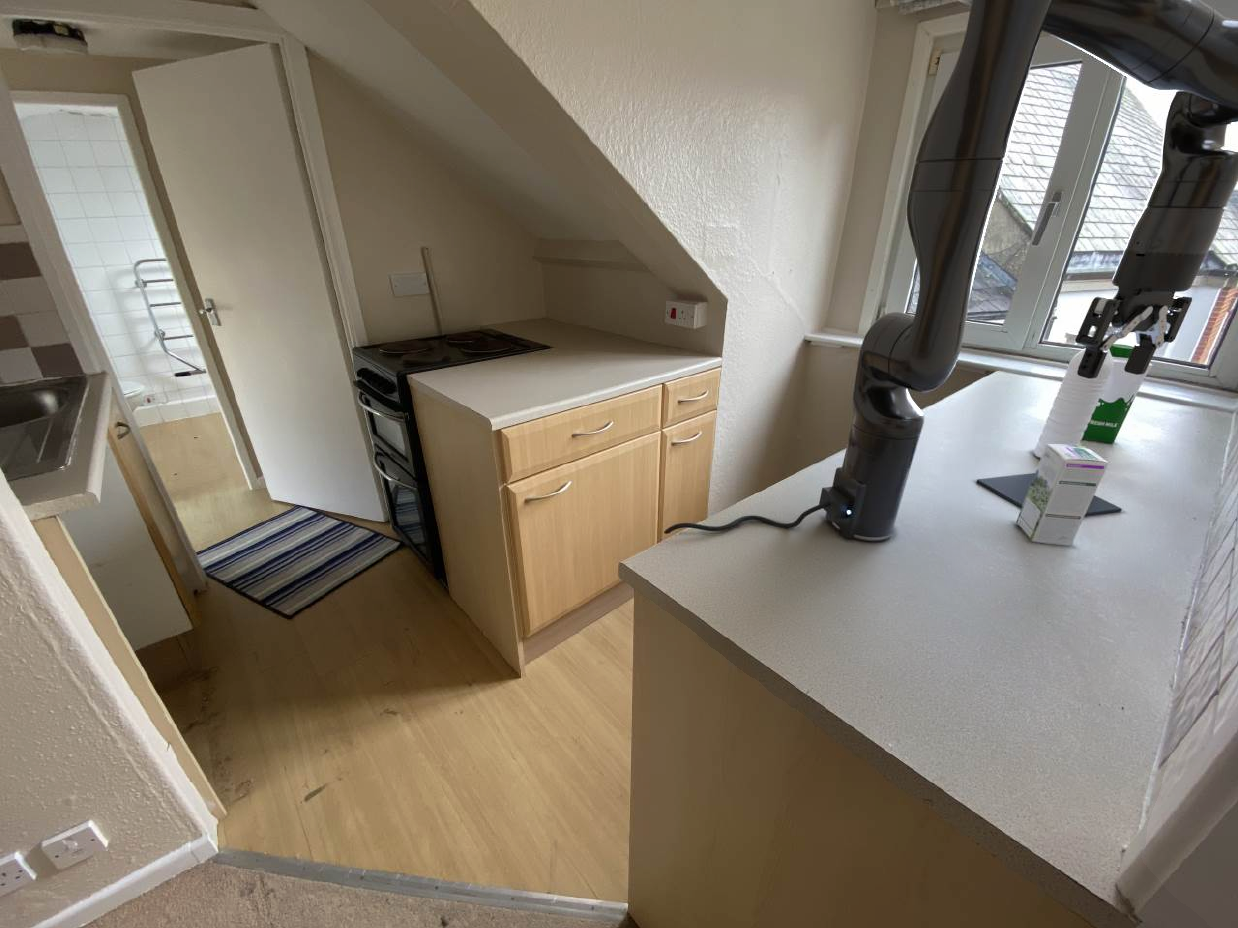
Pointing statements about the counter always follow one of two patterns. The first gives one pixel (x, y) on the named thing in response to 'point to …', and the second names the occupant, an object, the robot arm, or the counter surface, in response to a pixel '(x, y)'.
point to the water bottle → (1073, 403)
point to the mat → (1019, 485)
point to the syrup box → (1060, 493)
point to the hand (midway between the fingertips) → (1109, 375)
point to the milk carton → (1114, 398)
